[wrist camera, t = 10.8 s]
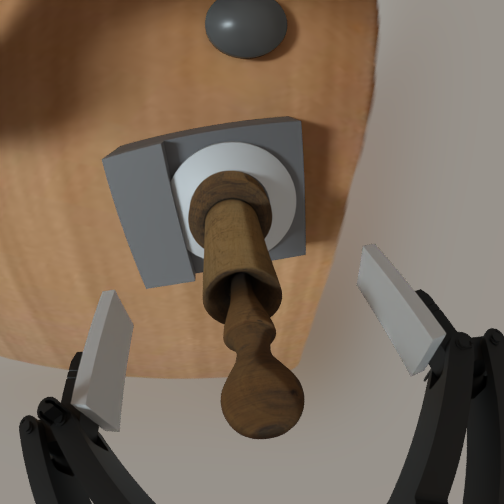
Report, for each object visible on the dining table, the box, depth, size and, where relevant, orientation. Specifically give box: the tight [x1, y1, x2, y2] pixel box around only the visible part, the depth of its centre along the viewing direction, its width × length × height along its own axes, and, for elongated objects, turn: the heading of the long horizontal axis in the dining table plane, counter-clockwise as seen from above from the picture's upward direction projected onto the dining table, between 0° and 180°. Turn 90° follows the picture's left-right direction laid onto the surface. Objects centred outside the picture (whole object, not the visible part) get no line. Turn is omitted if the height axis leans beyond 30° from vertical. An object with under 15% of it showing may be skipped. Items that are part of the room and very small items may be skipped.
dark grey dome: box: [205, 0, 287, 59], centre depth 18 cm, size 7×7×1 cm
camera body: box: [102, 116, 306, 289], centre depth 25 cm, size 16×13×5 cm
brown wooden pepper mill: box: [188, 171, 304, 439], centre depth 15 cm, size 7×6×18 cm
